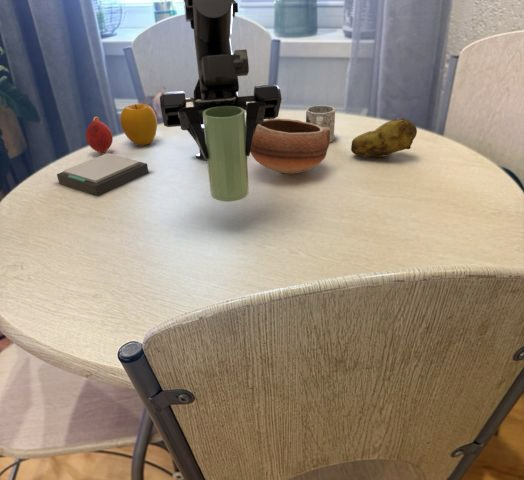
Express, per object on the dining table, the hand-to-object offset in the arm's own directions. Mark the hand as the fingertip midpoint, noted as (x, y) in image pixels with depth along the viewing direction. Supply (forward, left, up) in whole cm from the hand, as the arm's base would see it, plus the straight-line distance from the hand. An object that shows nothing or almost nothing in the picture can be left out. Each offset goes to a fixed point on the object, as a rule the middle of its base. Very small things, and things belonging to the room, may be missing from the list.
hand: (227, 157), depth 84 cm
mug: (-46, -10, -13) cm, 49 cm away
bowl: (-27, -6, -13) cm, 31 cm away
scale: (-4, -37, -12) cm, 40 cm away
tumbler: (-1, -1, -7) cm, 7 cm away
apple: (-24, -46, -13) cm, 54 cm away
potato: (-44, +7, -13) cm, 46 cm away
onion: (-14, -49, -13) cm, 53 cm away
